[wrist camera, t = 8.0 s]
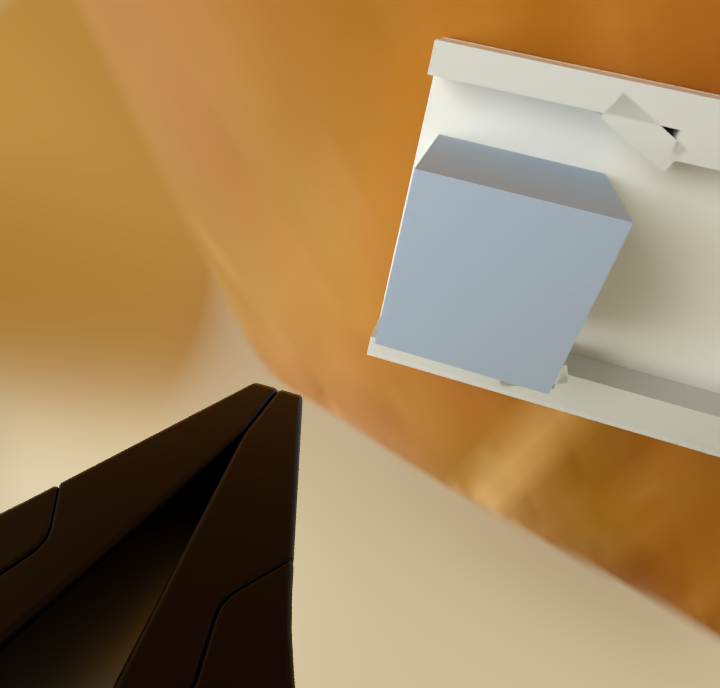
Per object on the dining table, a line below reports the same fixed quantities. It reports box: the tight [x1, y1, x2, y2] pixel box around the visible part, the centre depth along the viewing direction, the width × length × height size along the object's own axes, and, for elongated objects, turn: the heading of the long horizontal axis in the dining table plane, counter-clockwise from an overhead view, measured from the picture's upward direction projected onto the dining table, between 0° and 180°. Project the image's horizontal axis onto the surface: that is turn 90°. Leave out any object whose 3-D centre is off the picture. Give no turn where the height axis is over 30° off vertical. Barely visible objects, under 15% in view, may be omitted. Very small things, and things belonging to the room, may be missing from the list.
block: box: [375, 134, 634, 394], centre depth 15 cm, size 5×5×4 cm
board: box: [367, 37, 720, 457], centre depth 16 cm, size 14×10×2 cm
